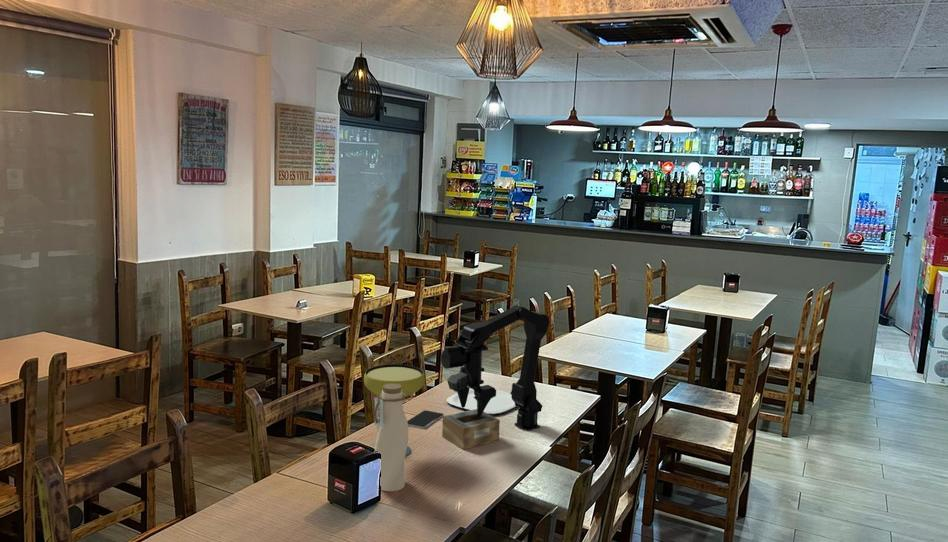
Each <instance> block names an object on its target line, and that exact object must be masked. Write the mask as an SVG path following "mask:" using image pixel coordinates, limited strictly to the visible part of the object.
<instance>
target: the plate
mask: <svg viewBox="0 0 948 542" xmlns="http://www.w3.org/2000/svg"><path fill="white" fill-rule="evenodd" d="M510 393H511V392H507V391H504V390H499V389H496V396H495V397H493V398H491V399H490V401H489V402H488V404H487V406H486V408H485V409H484V411H483V412H485V413H487V414H489V415H498V414H502V413H506V412H509V411H510V410H512V409H515V408H517V407H516V406H515V403H514V401H513V400H512V398H511V396H512V395H511V394H510ZM474 397H475V395H474V390H473V389H471V388H470V389H469V393H468V397H467V402H466V405H465V407H463V408H462V407H461V403H460V400H459V396H458V393H457V392H456V393H455V394H453V395H450V396H449V397H447V399H446V400H445V402H446V403H448V404H449V405H451V406H454V407H456V408H459V409H464V410H466V411H470V410H474V409H477V400H476V399H475V398H474Z"/></svg>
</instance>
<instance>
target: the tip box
mask: <svg viewBox="0 0 948 542" xmlns="http://www.w3.org/2000/svg"><path fill="white" fill-rule="evenodd" d="M500 421H501V420H500V419H498V418H497V417H495V416H493V415H492V414H487V413H485V412H483V413H482V415H481V416H478V413H477V409H474V410H466V411H460V412H457V413H452V414H446V415H444V416H443V417H442V428H441V429H442V430H441V431H442V432H441V434H442V436H441V438H443V439H445V440H447V441H448V442H450V443H451V444H453V445H455V446H456V447H458V448H459V449H461V450H468V449H471V448H475V447H480V446H482V445H483V446H484V445H487V444H492V443H494V442H495V441H496V442H499V441H500V424H501V423H500ZM491 442H492V443H491ZM496 442H495V443H496Z"/></svg>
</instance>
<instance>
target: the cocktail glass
mask: <svg viewBox="0 0 948 542" xmlns="http://www.w3.org/2000/svg"><path fill="white" fill-rule="evenodd" d="M363 382H364V386H365V387H366V389H367V390H368V391H370V392H371V393H372V394H375V395H376V396H378V397H379V396H380V394H382V390H383V386H384V385H385V384H399V385H401V390H402V392H403V393H404V394H405V395H406V397H410V396H411V395H413V394H415V393H417V392H419V390H421V388H423V386H424V384H425V372H424V371H423V369H422V368H420V367H417V366H415V365H414V366H413V365H408V364H398V363H396V364H392V363H391V364H381V365H376V366H373V367H370V368H367V369H366V370H365V373H364V376H363ZM403 397H404V396H403ZM411 453H412V449H411V447H410V446H408V445H407V449H406V454H405V457H407V456H409V455H410V454H411Z"/></svg>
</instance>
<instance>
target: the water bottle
mask: <svg viewBox="0 0 948 542" xmlns="http://www.w3.org/2000/svg"><path fill="white" fill-rule="evenodd" d="M403 396H404V397H403ZM405 399H406V395H405V394H404V393H403V392H402V390H401V385H399V384H385V385H384V386H383V390H382V394H380V396H379V395H378V398H377V397H374V414H373V415H374V425H375V426H376V430H377V437H376V441H375V444H374V445H375V446H374V452H375V451H378V452H379V453H380V454H381V477H380V486H381V490H380V491H385V492H397V491H401V490H402V489H404V488H405V486H406V478H405V477H406V476H405V475H406V474H405V458H406V456H405V454H406V449H407V446H408V442H409V426H408V422H407V421H408V419H407V416H406V415H405V411H404V409H403V408H404V406H403V403H404V402H403V401H404V400H405Z"/></svg>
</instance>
